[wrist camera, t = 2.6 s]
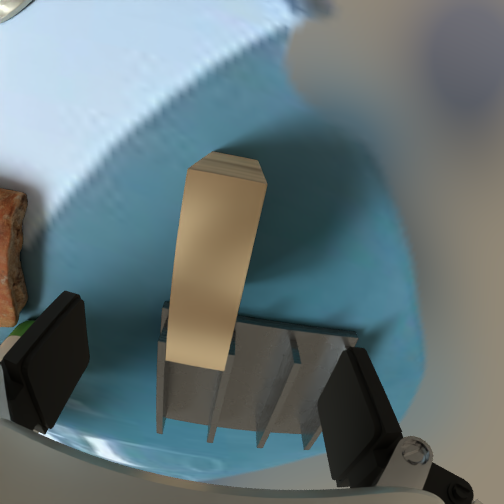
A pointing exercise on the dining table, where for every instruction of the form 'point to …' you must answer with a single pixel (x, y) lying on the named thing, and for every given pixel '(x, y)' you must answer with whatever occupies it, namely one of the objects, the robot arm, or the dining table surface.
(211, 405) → the rack
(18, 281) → the ceramic shard
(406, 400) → the dining table surface
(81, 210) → the dining table surface
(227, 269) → the oak board
